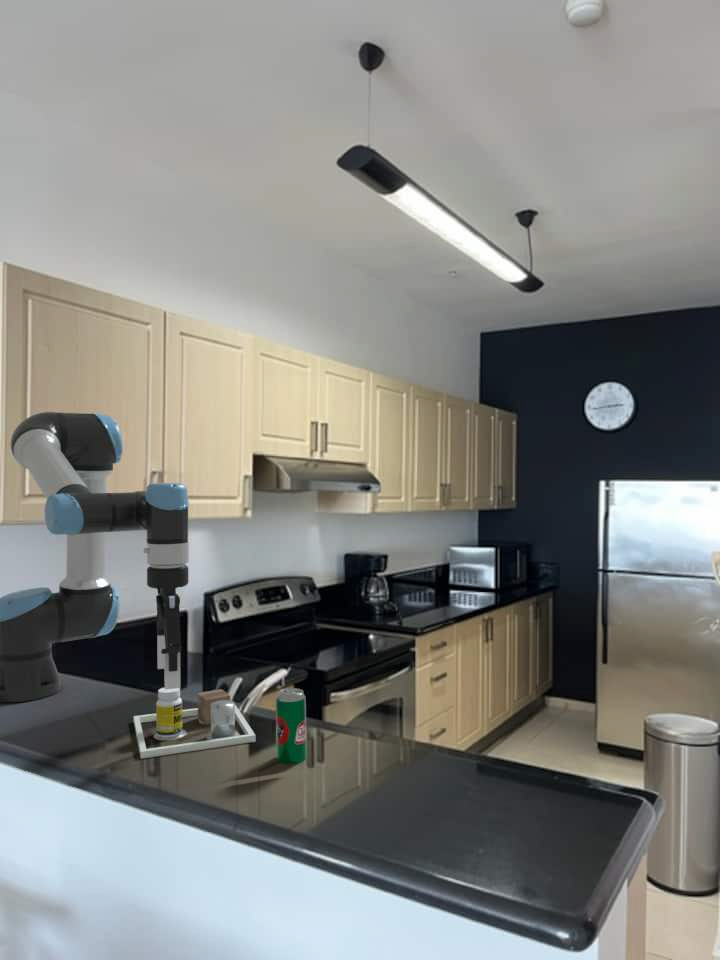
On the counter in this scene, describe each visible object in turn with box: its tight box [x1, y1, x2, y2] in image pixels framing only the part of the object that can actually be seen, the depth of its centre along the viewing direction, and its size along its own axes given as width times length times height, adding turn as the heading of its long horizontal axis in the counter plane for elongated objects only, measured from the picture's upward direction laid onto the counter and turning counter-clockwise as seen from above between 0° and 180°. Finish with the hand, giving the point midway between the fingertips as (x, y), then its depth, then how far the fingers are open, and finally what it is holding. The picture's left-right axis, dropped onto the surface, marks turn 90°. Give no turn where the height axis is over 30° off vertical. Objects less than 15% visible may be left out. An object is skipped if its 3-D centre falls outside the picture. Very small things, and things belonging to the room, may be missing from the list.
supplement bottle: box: [155, 686, 183, 738], centre depth 134 cm, size 5×5×8 cm
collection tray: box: [133, 704, 257, 760], centre depth 135 cm, size 20×20×2 cm
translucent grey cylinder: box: [210, 699, 236, 739], centre depth 132 cm, size 4×4×6 cm
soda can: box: [275, 687, 308, 765], centre depth 122 cm, size 5×5×12 cm
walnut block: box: [197, 688, 231, 726], centre depth 142 cm, size 5×5×5 cm
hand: (168, 677), depth 134 cm, fingers open, 13 cm apart
